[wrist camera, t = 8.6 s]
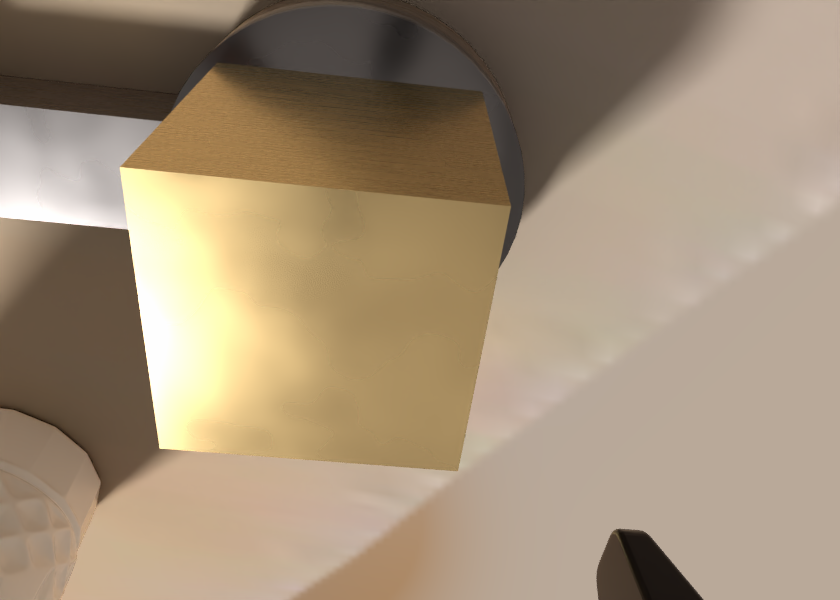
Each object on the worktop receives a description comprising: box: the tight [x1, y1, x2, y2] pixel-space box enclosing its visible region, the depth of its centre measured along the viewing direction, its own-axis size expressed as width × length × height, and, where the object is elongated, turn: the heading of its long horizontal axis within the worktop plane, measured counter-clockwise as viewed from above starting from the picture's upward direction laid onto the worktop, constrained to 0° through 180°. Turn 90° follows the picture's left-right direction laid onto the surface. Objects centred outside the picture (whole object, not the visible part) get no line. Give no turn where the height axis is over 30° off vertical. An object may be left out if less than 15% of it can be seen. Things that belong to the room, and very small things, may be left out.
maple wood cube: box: [120, 62, 511, 471], centre depth 15 cm, size 6×6×6 cm
